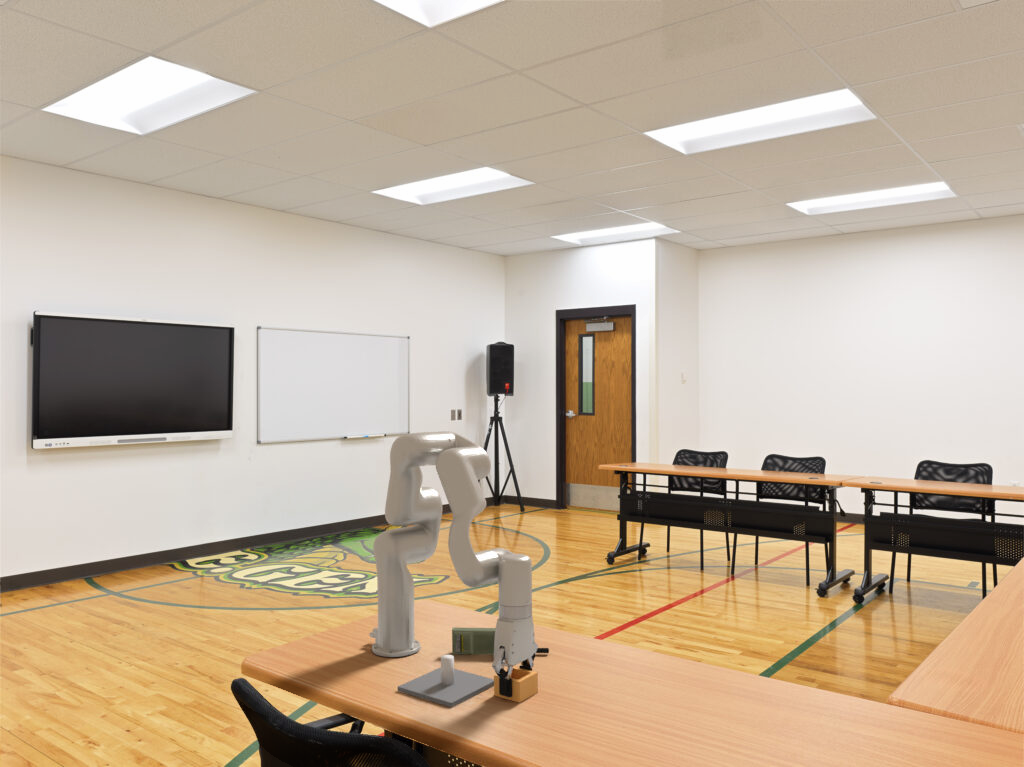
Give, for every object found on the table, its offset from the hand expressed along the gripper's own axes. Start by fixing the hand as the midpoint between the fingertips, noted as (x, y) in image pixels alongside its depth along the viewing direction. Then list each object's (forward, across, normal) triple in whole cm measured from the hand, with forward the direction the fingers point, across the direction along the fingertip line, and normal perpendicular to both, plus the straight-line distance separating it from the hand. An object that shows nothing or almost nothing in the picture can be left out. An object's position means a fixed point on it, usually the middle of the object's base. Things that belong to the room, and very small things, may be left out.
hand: (516, 689), depth 174 cm
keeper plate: (+1, +6, -15) cm, 16 cm away
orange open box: (+1, 0, 0) cm, 1 cm away
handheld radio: (+1, -19, -19) cm, 27 cm away
